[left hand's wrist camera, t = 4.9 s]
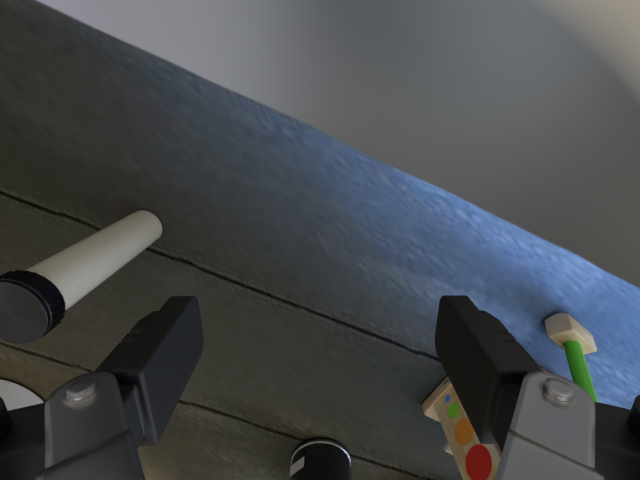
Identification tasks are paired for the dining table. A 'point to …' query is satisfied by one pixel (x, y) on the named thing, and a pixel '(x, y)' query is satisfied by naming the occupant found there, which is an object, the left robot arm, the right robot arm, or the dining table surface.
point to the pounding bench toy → (447, 409)
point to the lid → (28, 306)
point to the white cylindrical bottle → (99, 255)
